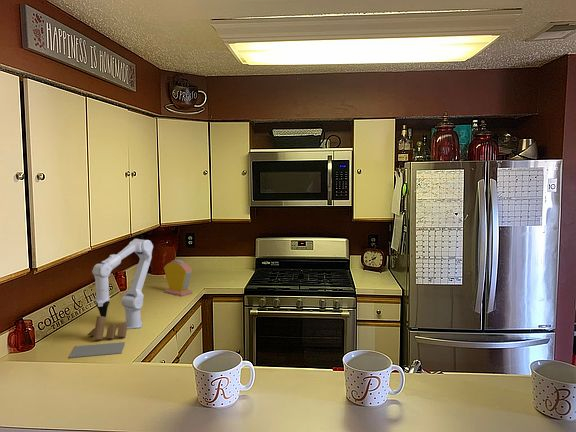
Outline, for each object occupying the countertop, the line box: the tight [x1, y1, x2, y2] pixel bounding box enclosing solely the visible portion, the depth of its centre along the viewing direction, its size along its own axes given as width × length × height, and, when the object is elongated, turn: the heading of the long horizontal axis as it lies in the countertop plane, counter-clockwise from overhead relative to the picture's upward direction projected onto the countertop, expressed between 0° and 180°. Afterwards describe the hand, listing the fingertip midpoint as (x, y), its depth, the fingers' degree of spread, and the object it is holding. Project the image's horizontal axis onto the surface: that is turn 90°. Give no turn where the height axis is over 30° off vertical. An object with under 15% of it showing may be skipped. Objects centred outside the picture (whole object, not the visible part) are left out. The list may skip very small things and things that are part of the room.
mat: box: [68, 341, 126, 359], centre depth 204 cm, size 13×21×1 cm, turn 103°
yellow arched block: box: [163, 259, 193, 297], centre depth 300 cm, size 22×9×22 cm, turn 53°
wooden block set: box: [87, 315, 128, 341], centre depth 219 cm, size 18×9×10 cm, turn 88°
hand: (103, 317), depth 221 cm, fingers closed, pressing on wooden block set
